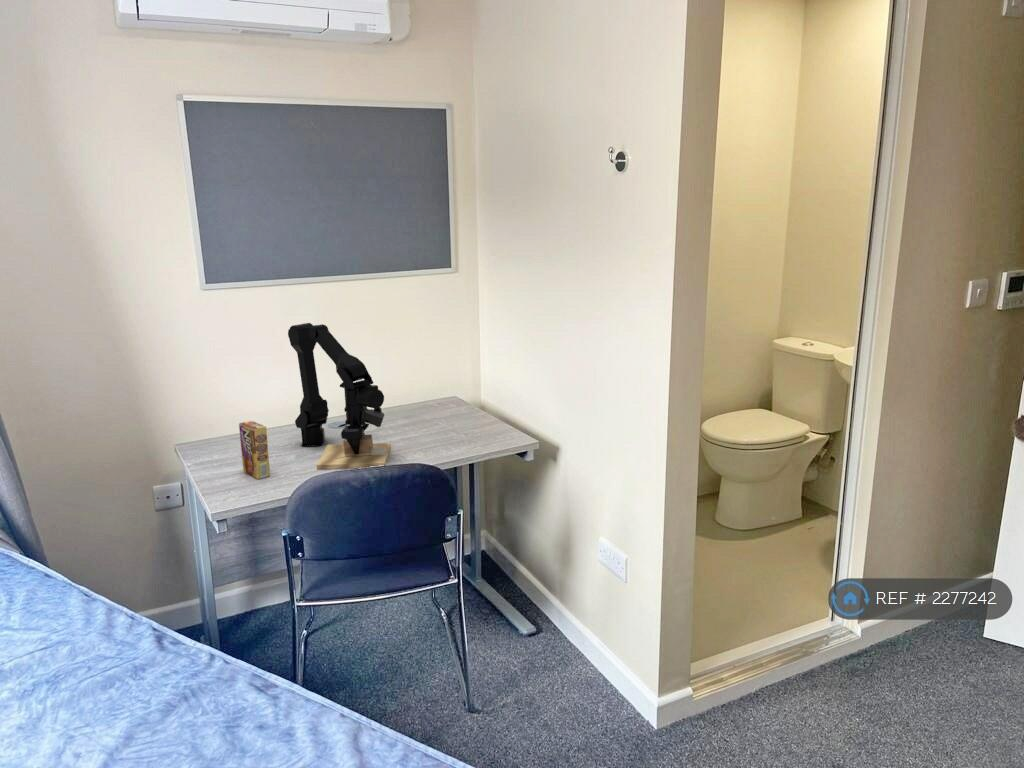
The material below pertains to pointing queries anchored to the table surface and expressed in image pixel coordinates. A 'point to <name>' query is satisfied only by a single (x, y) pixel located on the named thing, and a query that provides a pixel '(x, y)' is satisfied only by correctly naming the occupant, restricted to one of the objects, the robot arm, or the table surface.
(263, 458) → the candy box
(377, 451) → the white square tile
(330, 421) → the table surface
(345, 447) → the block
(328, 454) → the oak board
